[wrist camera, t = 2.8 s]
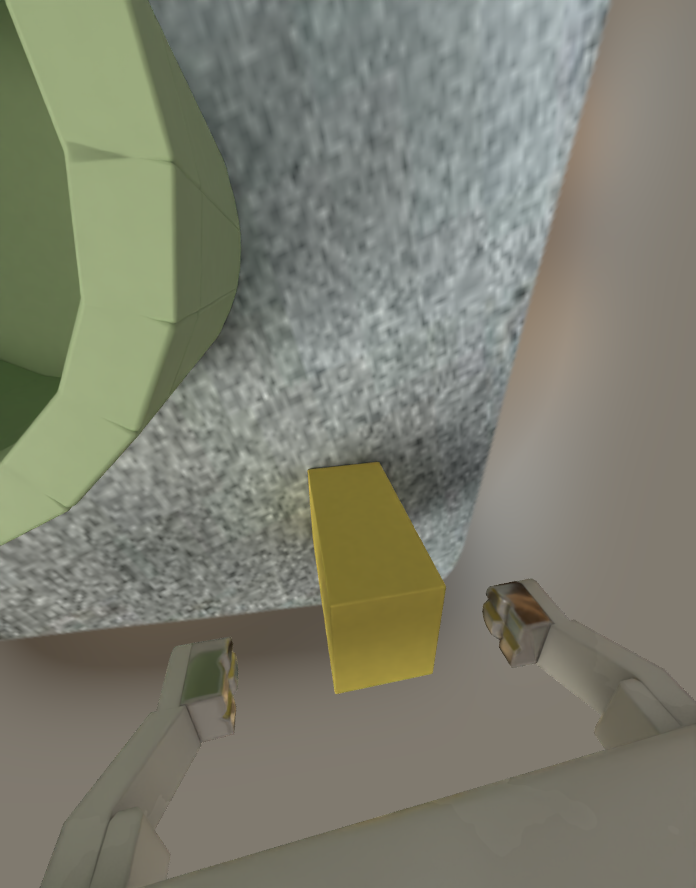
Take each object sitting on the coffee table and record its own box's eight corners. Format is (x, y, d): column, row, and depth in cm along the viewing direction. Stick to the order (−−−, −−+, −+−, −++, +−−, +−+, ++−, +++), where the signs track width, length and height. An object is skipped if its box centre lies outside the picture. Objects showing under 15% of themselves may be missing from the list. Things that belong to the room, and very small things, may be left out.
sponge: (379, 461, 16) (446, 586, 10) (377, 531, 17) (433, 674, 11) (307, 468, 15) (330, 606, 9) (312, 540, 17) (335, 695, 11)
